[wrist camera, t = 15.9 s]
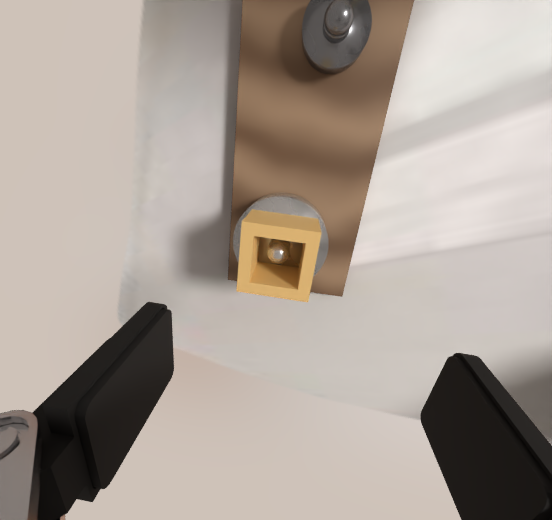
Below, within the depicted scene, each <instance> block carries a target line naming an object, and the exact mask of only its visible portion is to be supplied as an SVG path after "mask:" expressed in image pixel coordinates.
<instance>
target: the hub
mask: <svg viewBox="0 0 552 520" xmlns="http://www.w3.org/2000/svg"><path fill="white" fill-rule="evenodd" d="M252 209H254V210H261V211H268V212H275V213H282V214H289V215H296V216H303V217H310V218H317V219H319V223H320V228H321V232H322V233H321V238H320V244H319V249H318V254H317V259H316V264H315V269H314V274H313V276H315V275H316V274H317V273H318V271H319V270H320V269H321V267H322V266H323V264H324V262H325V259H326V257H327V253H328V234H327V231H326V227H325V224H324V221H323V218H322V216H321V214H320V213H319V211H318V210H317V209H316V207H315V206H314V205H313V204H312V203H311V202H309V201H308V200H306V199H305V198H303V197H301V196H299V195H296V194H292V193H286V192H278V193H272V194H268V195H266V196H263V197H261V198H260V199H258V200H257V201H255V202H254V203H253V204H252V205H251V206H250V207H249V208H248V209H247V210H246V211H245V212H244V213H243V215H242V216H241V217H240V219H239V221H238V222H237V225H236V227H235V231H234V235H233V247H234V252H235V256H236V258H237V261H238V263H239V251H240V238H241V224H242V220H243V219H244V218H245V217H246V216H247V215H248V214H249V212H250V211H251V210H252ZM302 245H303V243H299V242H292V241H285V240H278V239H271V238H264V237H260V246H259V256H258V262H264V263H271V264H278V265H284V266H291V267H298V268H299V263H300V257H301V251H302Z"/></svg>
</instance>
